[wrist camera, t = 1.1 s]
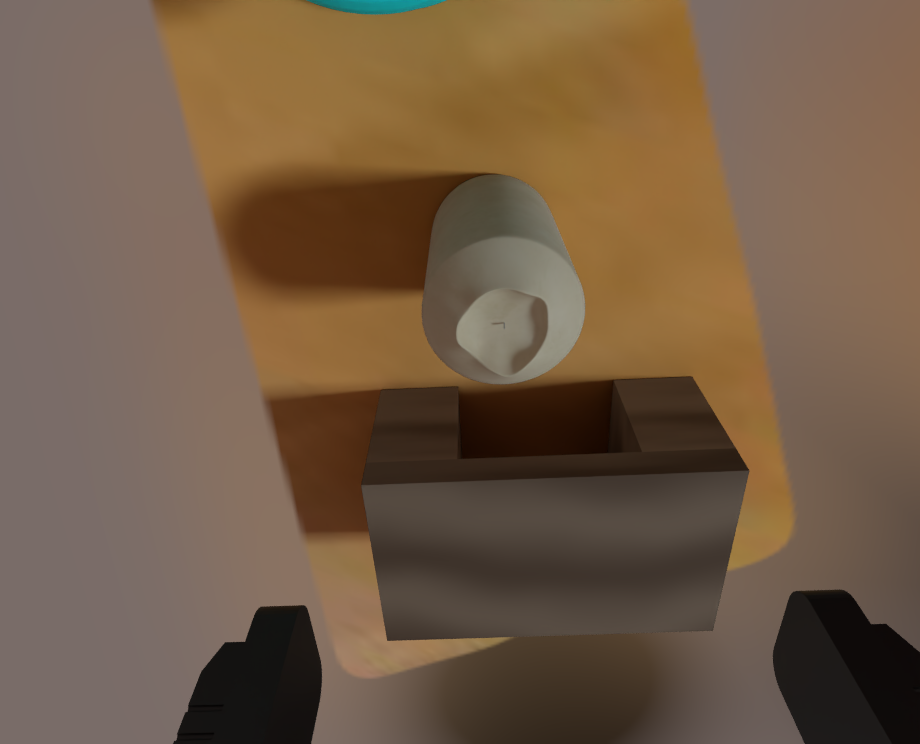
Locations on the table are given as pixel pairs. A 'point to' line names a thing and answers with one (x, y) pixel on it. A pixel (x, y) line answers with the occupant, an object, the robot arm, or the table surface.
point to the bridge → (552, 521)
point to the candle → (499, 283)
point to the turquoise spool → (375, 5)
